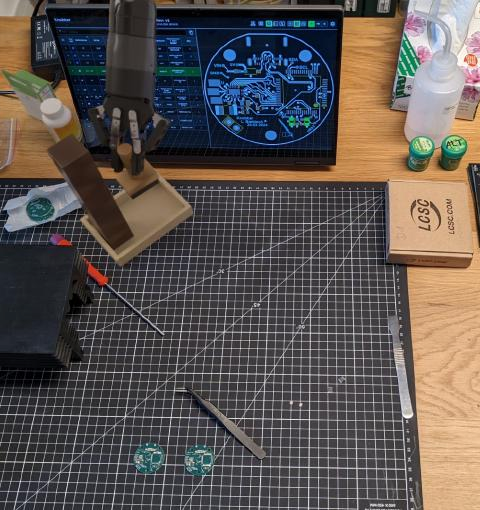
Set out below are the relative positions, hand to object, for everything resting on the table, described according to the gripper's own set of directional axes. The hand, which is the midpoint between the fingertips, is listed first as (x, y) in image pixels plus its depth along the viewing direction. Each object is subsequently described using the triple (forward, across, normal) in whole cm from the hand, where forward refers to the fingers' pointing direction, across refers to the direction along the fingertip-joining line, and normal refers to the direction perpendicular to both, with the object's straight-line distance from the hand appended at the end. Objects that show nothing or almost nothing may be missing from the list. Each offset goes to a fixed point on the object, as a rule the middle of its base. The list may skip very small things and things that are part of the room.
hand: (127, 173), depth 103 cm
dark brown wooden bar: (+14, -5, +8) cm, 17 cm away
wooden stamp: (+3, 0, +6) cm, 7 cm away
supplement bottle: (0, -22, +23) cm, 32 cm away
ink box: (-3, -29, +26) cm, 39 cm away
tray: (+12, -2, +11) cm, 16 cm away
